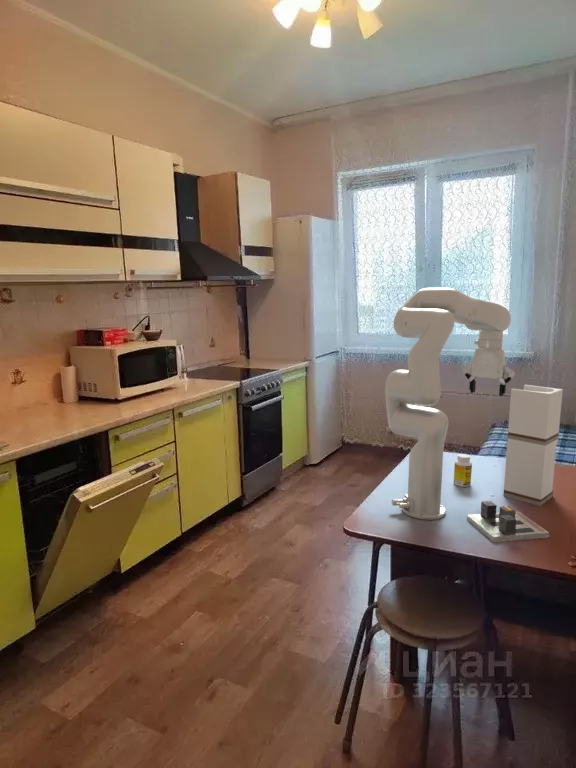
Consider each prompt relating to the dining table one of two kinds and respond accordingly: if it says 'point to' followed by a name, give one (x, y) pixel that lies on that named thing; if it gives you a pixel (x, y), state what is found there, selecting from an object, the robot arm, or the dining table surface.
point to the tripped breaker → (507, 511)
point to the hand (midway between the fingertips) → (486, 393)
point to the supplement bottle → (462, 471)
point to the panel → (507, 537)
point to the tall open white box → (532, 443)
